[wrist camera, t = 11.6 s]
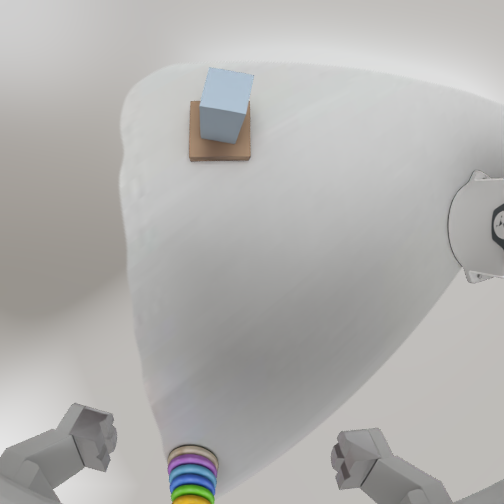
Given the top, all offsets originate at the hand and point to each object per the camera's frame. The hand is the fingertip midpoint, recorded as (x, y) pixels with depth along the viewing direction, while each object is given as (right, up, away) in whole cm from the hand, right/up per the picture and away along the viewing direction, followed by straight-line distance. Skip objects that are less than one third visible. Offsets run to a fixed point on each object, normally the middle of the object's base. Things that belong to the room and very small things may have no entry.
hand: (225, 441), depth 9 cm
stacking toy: (-8, -26, +32) cm, 42 cm away
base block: (-3, +21, +28) cm, 35 cm away
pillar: (-3, +21, +25) cm, 33 cm away
